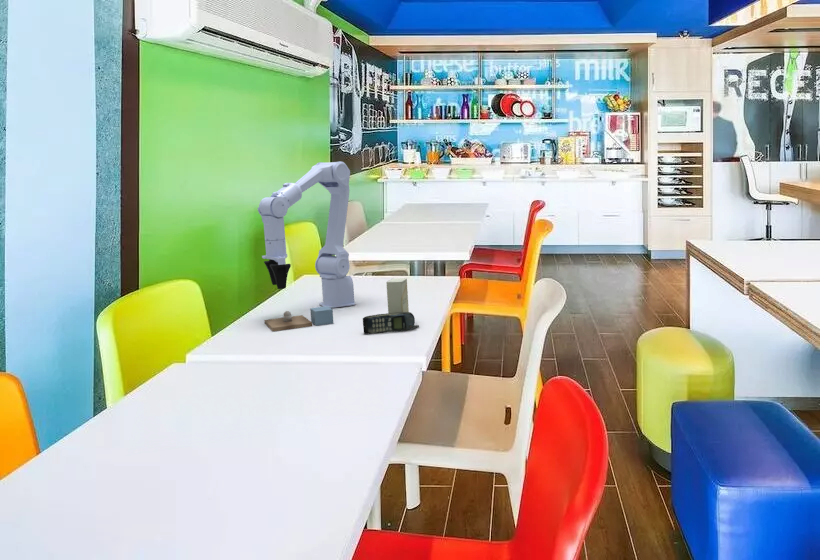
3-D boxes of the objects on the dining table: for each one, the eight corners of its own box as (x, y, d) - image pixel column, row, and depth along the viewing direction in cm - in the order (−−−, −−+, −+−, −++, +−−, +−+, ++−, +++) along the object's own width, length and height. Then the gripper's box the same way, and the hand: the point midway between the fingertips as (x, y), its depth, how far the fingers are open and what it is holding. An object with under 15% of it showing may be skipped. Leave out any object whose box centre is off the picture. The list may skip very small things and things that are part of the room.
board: (302, 318, 214) (301, 305, 213) (312, 326, 204) (311, 312, 203) (264, 323, 210) (263, 310, 209) (272, 331, 200) (271, 317, 199)
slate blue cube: (328, 319, 211) (327, 306, 210) (333, 323, 206) (332, 309, 205) (311, 322, 209) (310, 308, 208) (316, 325, 204) (315, 311, 203)
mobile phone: (363, 317, 190) (419, 311, 193) (361, 315, 193) (417, 308, 196) (364, 336, 191) (421, 329, 194) (362, 333, 194) (418, 326, 197)
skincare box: (404, 326, 199) (401, 281, 196) (388, 326, 200) (385, 281, 198) (409, 321, 205) (407, 277, 202) (394, 320, 206) (392, 277, 204)
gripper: (256, 238, 215) (260, 284, 217) (265, 243, 202) (269, 292, 204) (280, 236, 218) (284, 281, 220) (291, 241, 204) (295, 289, 207)
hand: (278, 286), depth 212 cm, fingers open, 7 cm apart
